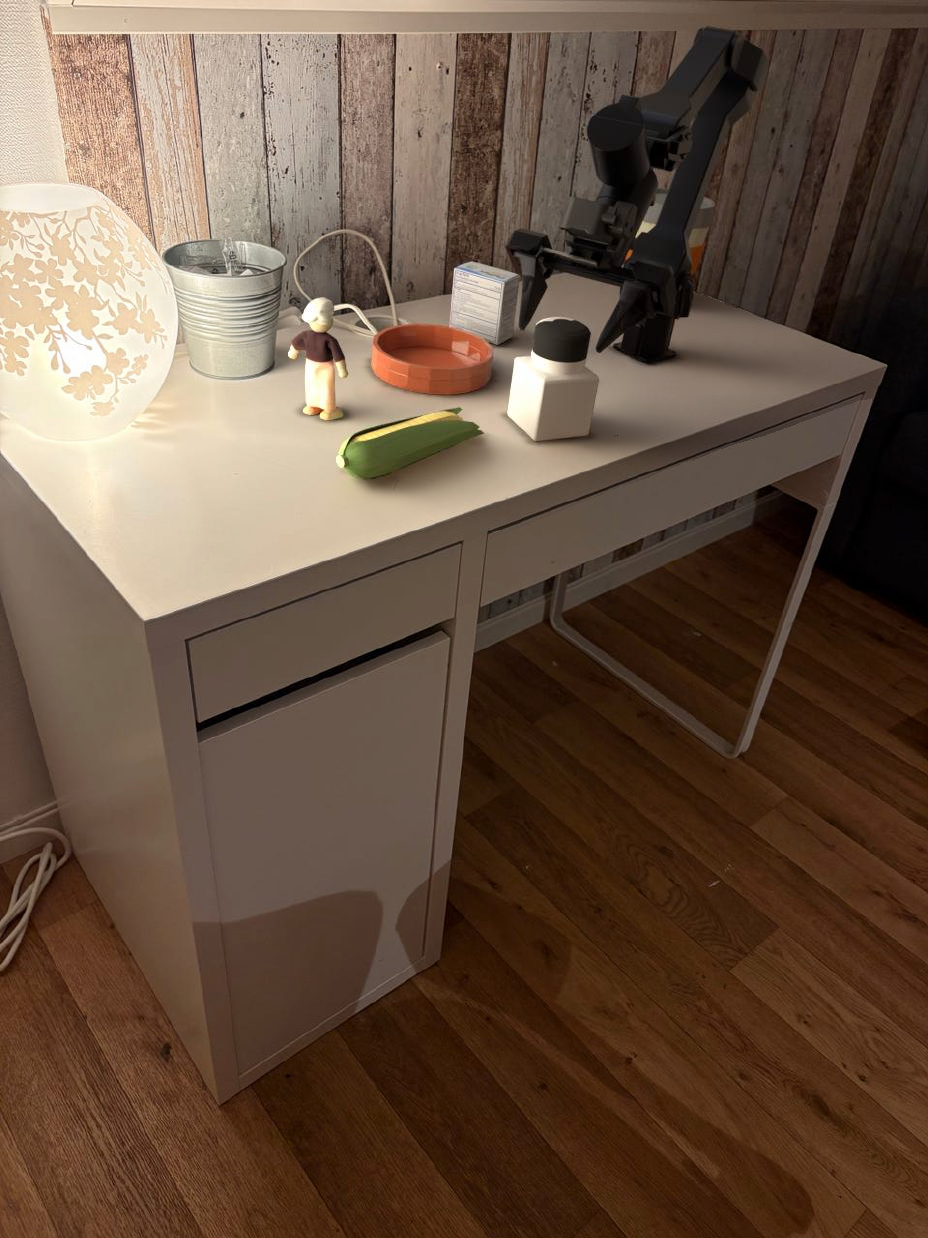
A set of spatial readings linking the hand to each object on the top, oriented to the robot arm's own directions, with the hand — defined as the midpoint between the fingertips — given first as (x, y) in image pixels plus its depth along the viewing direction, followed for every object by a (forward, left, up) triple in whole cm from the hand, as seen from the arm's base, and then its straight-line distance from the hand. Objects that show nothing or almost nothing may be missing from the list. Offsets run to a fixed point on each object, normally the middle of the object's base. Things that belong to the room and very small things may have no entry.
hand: (558, 339), depth 104 cm
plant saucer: (+1, -19, -10) cm, 22 cm away
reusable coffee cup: (-50, -27, -11) cm, 58 cm away
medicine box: (-13, -26, -11) cm, 31 cm away
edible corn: (+18, -1, -11) cm, 21 cm away
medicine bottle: (-1, 0, -11) cm, 11 cm away
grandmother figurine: (+20, -15, -11) cm, 28 cm away
